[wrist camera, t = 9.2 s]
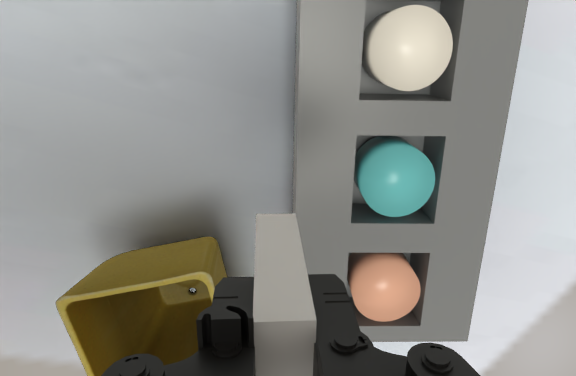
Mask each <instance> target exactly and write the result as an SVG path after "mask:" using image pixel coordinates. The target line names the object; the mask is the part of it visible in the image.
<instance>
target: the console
mask: <svg viewBox="0 0 576 376" xmlns="http://www.w3.org/2000/svg"><path fill="white" fill-rule="evenodd" d="M408 5H423V6H427V7H429V8H432V9H434V10H435V11H437V12H438V13H439V14H441V15H442V17H443V18H444V19H445V20H446V22H447V23H448V25H449V27H450V30H451V33H452V39H453V49H452V55H451V58H450V61H449V63H448V66H447V67H446V69H445V71H444V72H443V73H442V75H441V76H440V77H439V78H438V79H437V80H436V81H434V82H433V83H432V84H430V85H429V86H427V87H425V88H422V89H419V90H415V91H401V90H397V89H394V88H392V87H389V86H386V85H384V84H381V83H379V82H377V81H375V80H374V79H372V78H371V77H370V76H369V75H368V73H367V72H366V71H365V69H364V67H363V65H362V50H363V35H364V32H365V30H366V28H367V27H368V25H369V24H370V23H371V22H372V21H373V20H374V19H375V18H376V17H378V16H379V15H381V14H383V13H385V12H388V11H391V10H394V9H397V8H401V7H404V6H408ZM527 6H528V0H297V11H296V60H295V108H294V157H293V206H292V213H296V218H297V223H298V228H299V233H300V238H301V244H302V249H303V254H304V259H305V264H306V269H307V274H335V275H336V276H337V277H339V278H340V279H341V280H342V281H343V282H344V284H345V287H346V290H347V294H348V296H349V299H350V303H351V305H352V307H353V310H354V313H355V316H356V319H357V322H358V325H359V328H360V331H361V332H362V333H364V334H365V335H366V336H368V337H369V339H370V340H371V342H420V341H467V340H468V335H469V329H470V324H471V318H472V312H473V307H474V301H475V296H476V290H477V285H478V279H479V273H480V268H481V262H482V257H483V251H484V246H485V240H486V234H487V229H488V223H489V218H490V212H491V206H492V201H493V195H494V190H495V184H496V179H497V173H498V167H499V162H500V156H501V151H502V145H503V140H504V134H505V128H506V123H507V117H508V112H509V106H510V100H511V95H512V89H513V84H514V78H515V73H516V67H517V61H518V56H519V50H520V45H521V39H522V34H523V28H524V22H525V17H526V11H527ZM378 136H398V137H400V138H402V139H404V140H406V141H407V142H408V143H410V144H411V145H412V146H414V147H415V148H417V149H418V150H419V151H421V152H422V153H423V154H424V155H425V156H426V157H427V158H428V159H429V160H430V162H431V164H432V165H433V168H434V172H435V185H434V189H433V192H432V194H431V196H430V198H429V199H428V201H427V202H426V203H425V204H424V205H423V206H422V207H421V208H419V209H418V210H417V211H415V212H413V213H411V214H409V215H405V216H401V217H389V216H384V215H381V214H379V213H377V212H376V211H374V210H373V209H372V208H371V207H370V206H369V205H368V204H367V203H366V201H365V199H364V198H363V196H362V194H361V192H360V191H359V189H358V187H357V185H356V184H355V181H354V168H355V155H356V153H357V152H358V150H359V149H360V148H361V147H362V145H363V144H365V143H366V142H367V141H369V140H370V139H373V138H375V137H378ZM351 253H403V254H404V256H405V257H406V259H407V261H408V262H409V264H410V266H411V267H412V269H413V271H414V272H415V274H416V276H417V277H418V279H419V282H420V288H421V291H420V297H419V300H418V302H417V304H416V305H415V307H414V308H413V309H412V310H411V311H410V312H409V313H408V314H406V315H405V316H403V317H401V318H399V319H396V320H393V321H386V322H382V321H375V320H371V319H369V318H367V317H365V316H364V315H363V314H361V313H360V312H359V311H358V309H357V308H356V306H355V304H354V300H353V297H352V294H351V290H350V287H349V284H348V280H347V271H348V258H349V256H350V254H351Z"/></svg>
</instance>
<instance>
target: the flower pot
mask: <svg viewBox="0 0 576 376" xmlns="http://www.w3.org/2000/svg"><path fill="white" fill-rule="evenodd" d="M224 277H227V274H226V271H225V267H224V263H223V260H222V256H221V252H220V248H219V245H218V242H217V240H216V239H215V238H213V237H210V236H209V237H201V238H196V239H191V240H186V241H181V242H175V243H170V244H165V245H160V246H154V247H149V248H143V249H138V250H133V251H129V252H126V253H122V254H119V255H117V256H115V257H112V258H110V259H108V260H107V261H105V262H103V263H102V264H101V265H99V266H98V267H97V268H95V269H94V270H93V271H92V272H90V273H89V274H88V275H87V276H86V277H84V278H83V279H82V280H81V281H79V282H78V283H77V284H76V285H74V286H73V287H72V288H71V289H70V290H69V291H67V292H66V293H65V294H64V295H63V296H61V297H60V298H59V299H58V300H57V301H56V307H57V310H58V312H59V314H60V317H61V319H62V321H63V323H64V325H65V327H66V329H67V332H68V334H69V336H70V338H71V340H72V342H73V344H74V346H75V349H76V351H77V353H78V356H79V358H80V360H81V362H82V364H83V366H84V369H85V371H86V373H87V376H101V375H102V374H103V373H104V372H105V370H106V369H108V368H109V367H110V366H111V365H112V364H113V363H114V362H116V361H118V360H120V359H122V358H124V357H126V356H130V355H134V354H150V355H153V356H156V357H158V358H159V359H160V360H161V361H162V362H163V365H164V366H165V365H168V364H172V363H176V362H179V361H182V360H184V359H187V358H188V357H190V356H192V355H194V354H195V353H196V352H197V351H198V340H197V326H196V319H197V317H198V316H199V314H200V313H201V312H202V311H203V310H205V309H206V308H208V307H210V306H211V305H212V300H213V295H214V290H215V286H216V285H217V284H218V283H219V282H220V281H221V280H222V278H224ZM190 288H195V289H196V292H195V293H190V292H189V289H190Z"/></svg>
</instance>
